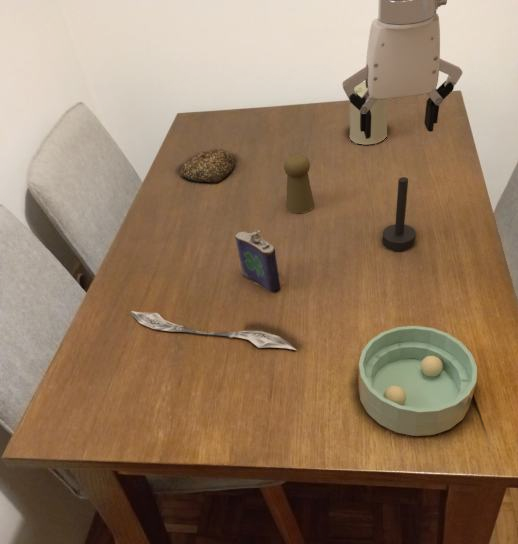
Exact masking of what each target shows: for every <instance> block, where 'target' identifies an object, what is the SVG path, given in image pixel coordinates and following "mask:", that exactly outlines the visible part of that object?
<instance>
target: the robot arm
mask: <svg viewBox="0 0 518 544" xmlns="http://www.w3.org/2000/svg"><path fill="white" fill-rule="evenodd" d="M447 3H448V0H378V8H377V18H374V19H373V20H372V21H371V25H370V29H369V35H368V41H367V50H366V61H365V66H364V67H363V68H362V69H360V70H359V71H357V72H355V73H354V74H353V75H351V76H349V77H348V78H346V79H345V80H343V82H342V83H341V85H342V88H343V89H342V90H343V91H344V93H345V94H346V97H347V98H348V100H349V103H350V102H351V103H352V104H353V105H354V106H355V107H356V108H357V109H358V110H360V130H361V132H363V131H364V134H365V137H366V139H369V138H370V137H371V111H370V108H371V107H372V106H373V104H374V103H375V102H376V101H377V100H384V99H389V100H391V99H401V98H409V97H417V96H425V95H427V96H428V98H427V100H426V102H425V103H426V104H425V112H424V113H425V114H424V122H423V125H424V126H425V128H426V130H427V132H428V133H431V132H434V126H435V124H437V123H438V118H439V113H440V112H439V111H440V106H441V105H443V102H444V100H445V99H446V98H447V97H448V96H449V95H450V94H451V93H452V92H453V91H454V87H455V86H456V85H457V83H458V81H459V80H460V79H461V77H462V75H463V70H462V69H461V68H460V67H459V66H457V65H455V64H453V63H452V62H448V61H447V60H444V59H442V58H441V27H440V26H441V25H440V16H439V14H438V13H437V10H438V8H440V7H442V6H446V5H447ZM440 72H441V73H443V74H445V75H448V76H447V78H446V80H445V81H444V82H443V83H441V85H440V86H438V82H439V76H440ZM362 82H365V85H366V88H368V90H367V91H366V92H365V94H364V95H363V96H362V97H360V96H359V95H358V94H357V93H356V92H355V90H354V88H355V87H356V86H357V85H359V84H360V83H362Z"/></svg>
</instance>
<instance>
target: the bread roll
mask: <svg viewBox="0 0 518 544" xmlns="http://www.w3.org/2000/svg"><path fill="white" fill-rule="evenodd" d="M235 164H236V161H235V158H234V155H232V154H230V153H229V151H228V152H227V151H223V150H222V149H217V148H213V149H208V150H206V151H204V150H203V151H201V152H199V153H198V154H197V155H196V156H194V157H192V159H190V160H189V161H187V162H186V163H184V164H183V165H182V167H181V169H180V175H181V176H182V177H183V178H185V179H187V180H190V181H195V182H200V183H211V184H213V183H212V182H215V183H219V182H221V181H223V180H224V179H226V178H227V177H228V176H229V175H230V174H231V173H232V172H233V169H234V167H235ZM231 171H232V172H231ZM230 172H231V173H230ZM229 173H230V174H229ZM228 174H229V175H228ZM225 177H226V178H225ZM223 178H224V179H223Z"/></svg>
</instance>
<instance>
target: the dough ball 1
mask: <svg viewBox="0 0 518 544" xmlns="http://www.w3.org/2000/svg"><path fill="white" fill-rule="evenodd" d="M384 398H386V399H388V400H390V401H393V402H395V403H397V404H399V405H403V404H404V403H405V401H406V393H405V391H404V390H403V389H402V388H401V387H399V386H391V387H389V388H387V389H386V391H385V392H384Z"/></svg>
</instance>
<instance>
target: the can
mask: <svg viewBox="0 0 518 544" xmlns="http://www.w3.org/2000/svg"><path fill="white" fill-rule="evenodd" d="M354 90H355V92H356V93H357V94H358V95H359V96H360V97H362V96H363V95H364V94H365V92H366V91H367V90H368V88H366V85H365V81H363V82H362V83H360V84H359V85H357V86H356V87H355V88H354ZM389 100H390V99H384V100H377V101H376V102H375V103H374V104H373V106H372V107H371V108H370V111H371V137H370V138H369V139H366V137H365V134H364V131H363V132H361V130H360V110H358V109H357V108H356V107H355V106H354V105H353V104H352V103H351V102H350V101H349V137H350V139H351V140H352V141H353V142H355V143H359V144H373V143H377V142H380V141H382V140H384V139H385V138H386V137H387V138H388V118H389V117H388V114H389ZM349 137H348V138H349ZM387 138H386V139H387ZM350 139H349V140H350ZM386 139H385V140H386ZM385 140H384V141H385ZM353 142H352V143H353Z"/></svg>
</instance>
